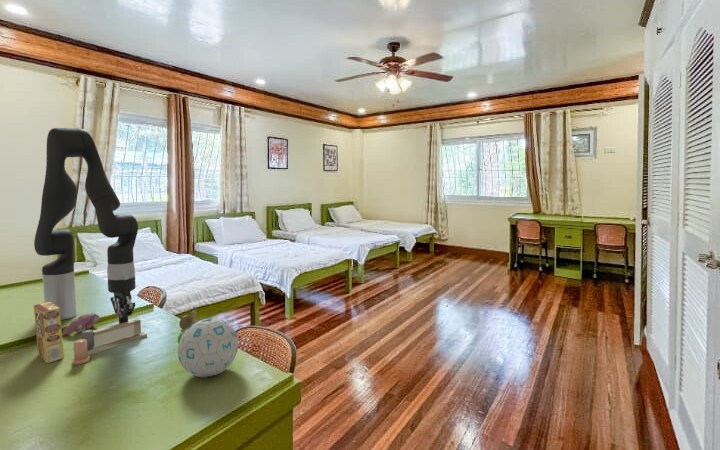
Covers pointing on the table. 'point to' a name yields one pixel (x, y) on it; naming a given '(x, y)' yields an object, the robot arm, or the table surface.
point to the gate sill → (116, 343)
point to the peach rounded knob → (80, 352)
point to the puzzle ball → (208, 347)
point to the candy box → (48, 332)
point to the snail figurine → (186, 323)
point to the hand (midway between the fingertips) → (123, 327)
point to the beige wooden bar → (111, 333)
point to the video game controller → (81, 323)
